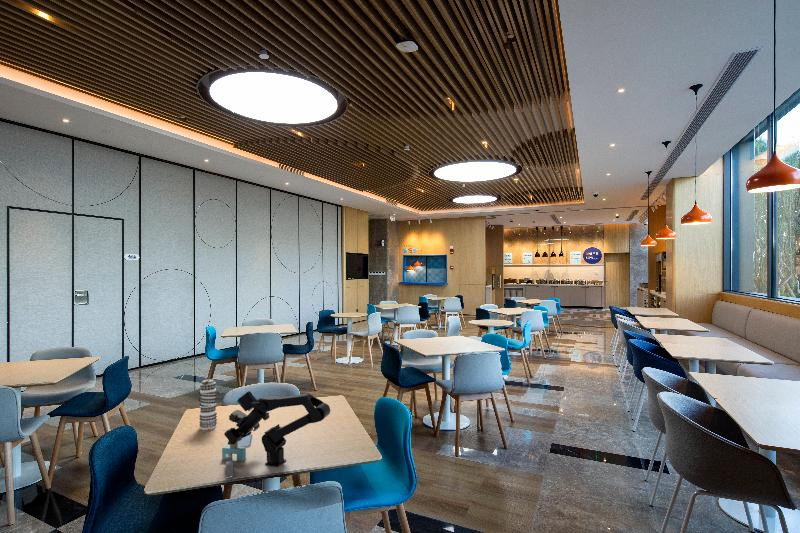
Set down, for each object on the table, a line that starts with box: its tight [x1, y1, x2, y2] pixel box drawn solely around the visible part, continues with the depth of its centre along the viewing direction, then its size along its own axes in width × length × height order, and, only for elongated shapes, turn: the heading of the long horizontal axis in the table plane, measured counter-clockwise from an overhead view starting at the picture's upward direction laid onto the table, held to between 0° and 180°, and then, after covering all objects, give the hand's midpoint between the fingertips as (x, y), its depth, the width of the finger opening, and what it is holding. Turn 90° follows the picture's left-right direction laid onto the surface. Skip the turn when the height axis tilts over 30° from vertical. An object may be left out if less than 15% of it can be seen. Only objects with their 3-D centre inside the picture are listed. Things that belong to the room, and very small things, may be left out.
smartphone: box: [238, 433, 253, 448], centre depth 206 cm, size 7×1×15 cm
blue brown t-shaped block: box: [221, 442, 247, 462], centre depth 186 cm, size 10×2×10 cm, turn 77°
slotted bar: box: [225, 453, 234, 478], centre depth 174 cm, size 12×2×5 cm, turn 23°
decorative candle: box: [198, 378, 218, 431], centre depth 227 cm, size 9×9×25 cm
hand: (231, 442), depth 187 cm, fingers open, 3 cm apart
